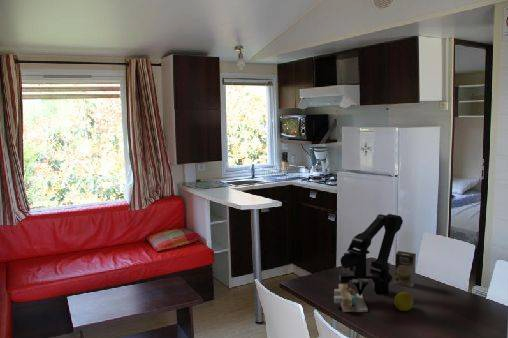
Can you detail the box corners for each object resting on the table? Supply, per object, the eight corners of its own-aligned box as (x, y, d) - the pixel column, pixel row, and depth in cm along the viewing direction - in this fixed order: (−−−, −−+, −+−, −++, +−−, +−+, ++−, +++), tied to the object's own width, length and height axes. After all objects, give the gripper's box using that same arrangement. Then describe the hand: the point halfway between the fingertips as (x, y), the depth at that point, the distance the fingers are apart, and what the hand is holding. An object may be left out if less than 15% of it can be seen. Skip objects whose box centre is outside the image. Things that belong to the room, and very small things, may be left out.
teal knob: (355, 302, 207) (355, 292, 206) (356, 306, 203) (356, 296, 202) (333, 302, 208) (333, 292, 207) (334, 306, 203) (334, 296, 203)
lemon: (404, 316, 195) (405, 298, 194) (389, 310, 201) (389, 293, 200) (418, 309, 202) (418, 292, 201) (403, 303, 208) (403, 287, 207)
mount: (361, 295, 217) (361, 284, 217) (367, 311, 200) (367, 299, 199) (338, 295, 218) (338, 283, 218) (342, 311, 201) (342, 299, 200)
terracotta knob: (354, 295, 215) (354, 286, 214) (356, 299, 210) (356, 289, 210) (334, 295, 216) (334, 285, 215) (335, 298, 211) (335, 289, 211)
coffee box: (394, 284, 231) (394, 253, 229) (397, 280, 236) (398, 250, 234) (412, 287, 226) (413, 256, 224) (415, 283, 231) (416, 253, 229)
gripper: (376, 258, 218) (376, 288, 220) (338, 258, 219) (338, 288, 221) (381, 265, 207) (381, 298, 209) (340, 265, 208) (340, 297, 210)
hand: (359, 295), depth 212 cm, fingers closed
